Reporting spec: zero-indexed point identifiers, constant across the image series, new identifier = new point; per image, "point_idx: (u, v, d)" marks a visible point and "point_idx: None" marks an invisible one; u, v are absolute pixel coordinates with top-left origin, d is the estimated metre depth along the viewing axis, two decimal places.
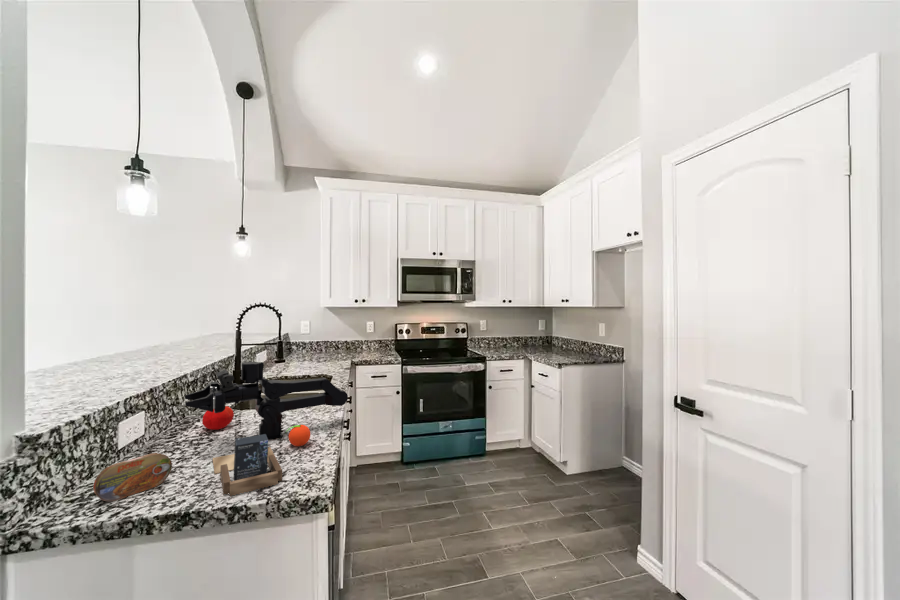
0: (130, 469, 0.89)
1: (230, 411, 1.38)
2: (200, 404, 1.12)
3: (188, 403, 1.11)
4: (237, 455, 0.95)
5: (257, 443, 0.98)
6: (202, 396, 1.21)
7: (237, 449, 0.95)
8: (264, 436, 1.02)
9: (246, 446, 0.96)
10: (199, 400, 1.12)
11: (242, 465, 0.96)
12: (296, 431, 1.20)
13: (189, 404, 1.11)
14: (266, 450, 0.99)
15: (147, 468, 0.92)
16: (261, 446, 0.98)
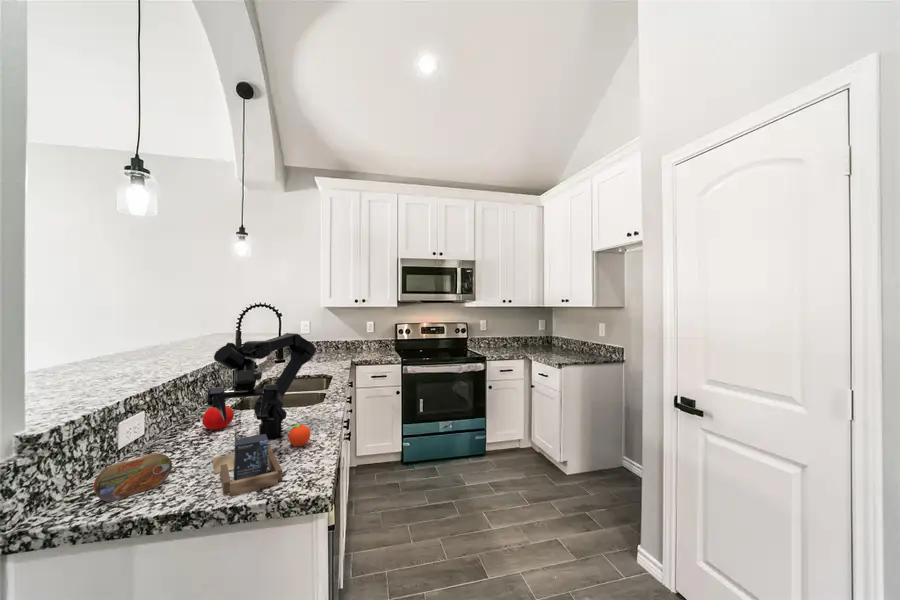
0: (130, 469, 0.89)
1: (230, 411, 1.38)
2: (264, 406, 1.12)
3: (261, 414, 1.09)
4: (237, 455, 0.95)
5: (257, 443, 0.98)
6: None
7: (237, 449, 0.95)
8: (264, 436, 1.02)
9: (246, 446, 0.96)
10: (265, 404, 1.11)
11: (242, 465, 0.96)
12: (296, 431, 1.19)
13: (262, 414, 1.10)
14: (266, 450, 0.99)
15: (147, 468, 0.92)
16: (261, 446, 0.98)
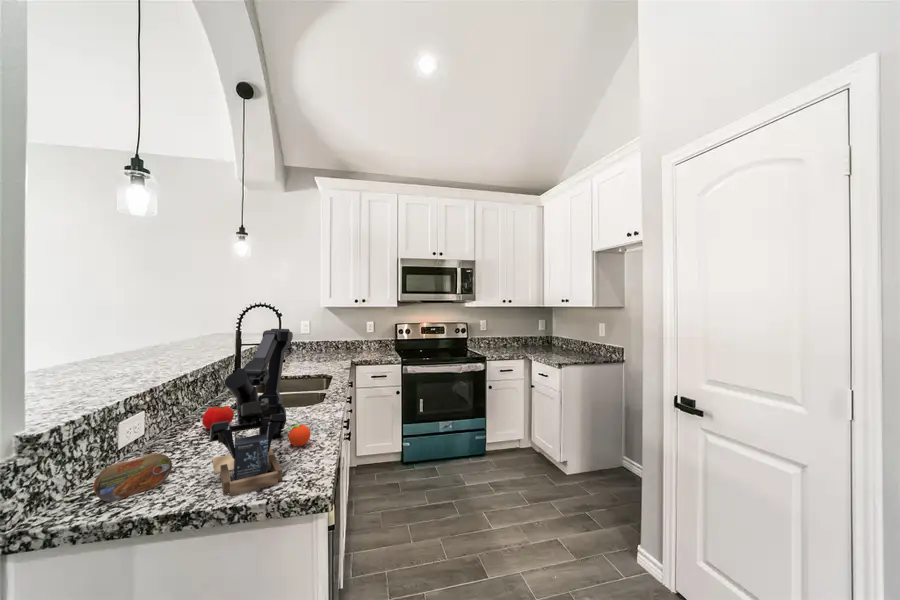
0: (130, 469, 0.89)
1: (230, 411, 1.38)
2: None
3: (269, 448, 1.01)
4: (237, 455, 0.95)
5: (257, 443, 0.98)
6: None
7: (237, 449, 0.95)
8: (264, 436, 1.02)
9: (246, 446, 0.96)
10: (272, 437, 1.03)
11: (242, 465, 0.96)
12: (296, 431, 1.19)
13: (269, 447, 1.02)
14: (266, 450, 0.99)
15: (147, 468, 0.92)
16: (261, 446, 0.98)
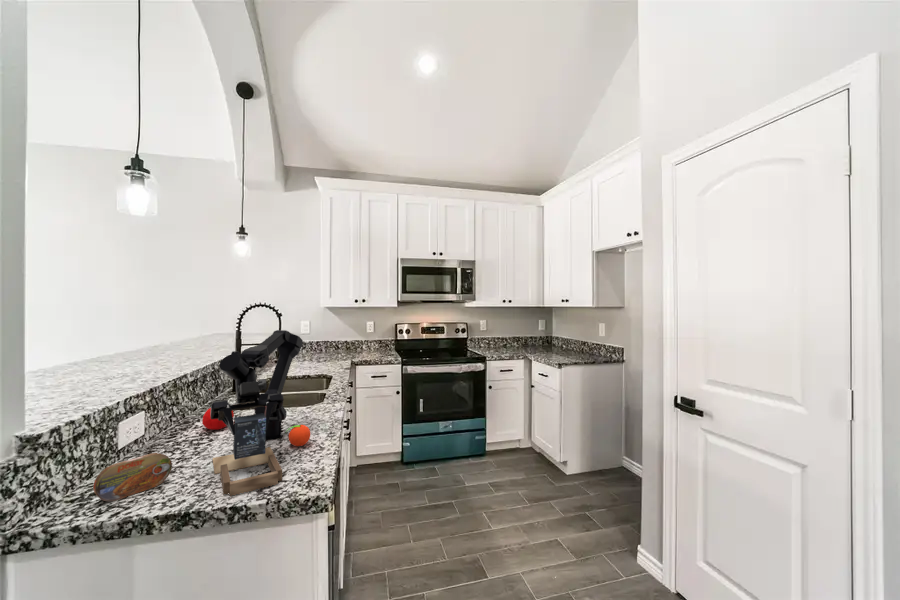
0: (130, 468, 0.89)
1: None
2: None
3: (266, 426, 1.06)
4: (236, 432, 1.00)
5: (256, 421, 1.03)
6: None
7: (236, 426, 1.00)
8: (262, 415, 1.07)
9: (245, 423, 1.01)
10: (269, 416, 1.08)
11: (242, 441, 1.01)
12: (296, 431, 1.19)
13: (267, 425, 1.07)
14: (264, 427, 1.04)
15: (147, 468, 0.92)
16: (259, 424, 1.03)
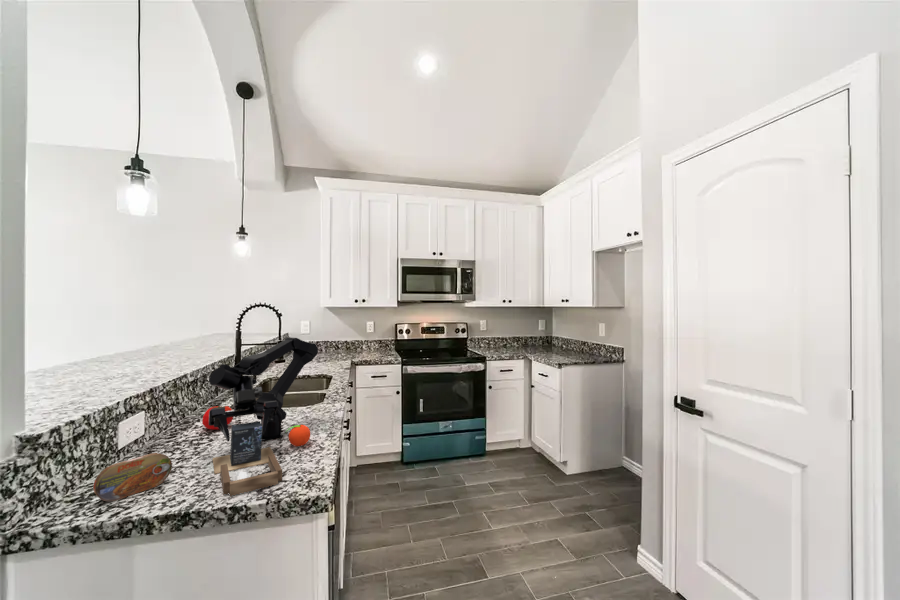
0: (130, 469, 0.89)
1: None
2: None
3: (264, 432, 1.11)
4: (234, 439, 1.05)
5: (252, 429, 1.08)
6: None
7: (234, 434, 1.05)
8: (258, 423, 1.12)
9: (242, 431, 1.06)
10: (267, 422, 1.13)
11: (238, 448, 1.06)
12: (296, 431, 1.19)
13: (264, 431, 1.12)
14: (260, 435, 1.09)
15: (147, 468, 0.92)
16: (255, 431, 1.08)
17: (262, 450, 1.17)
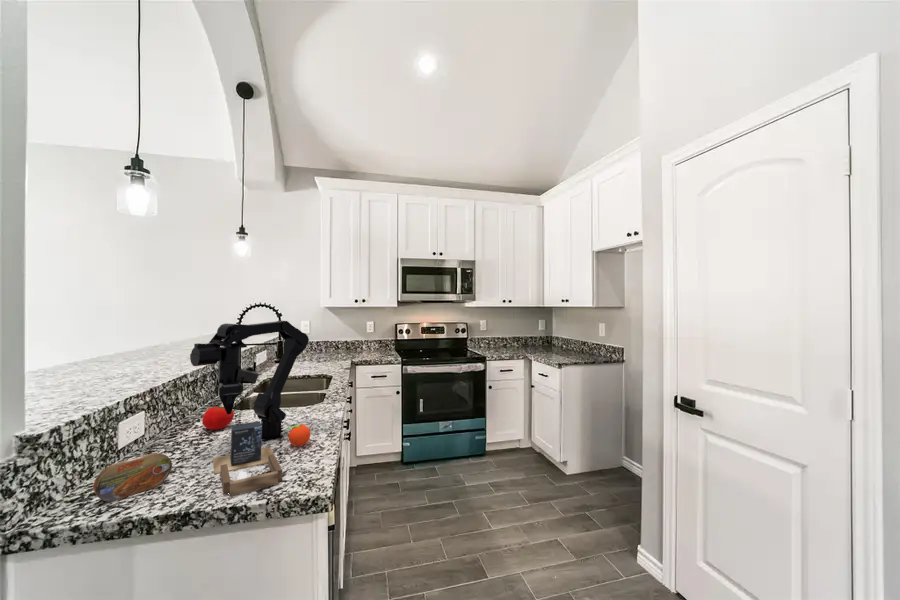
0: (130, 469, 0.89)
1: None
2: None
3: None
4: (234, 439, 1.05)
5: (252, 429, 1.08)
6: None
7: (234, 434, 1.05)
8: (258, 423, 1.12)
9: (242, 431, 1.06)
10: None
11: (238, 448, 1.06)
12: (296, 431, 1.19)
13: None
14: (260, 435, 1.09)
15: (147, 468, 0.92)
16: (255, 431, 1.08)
17: (262, 450, 1.17)
